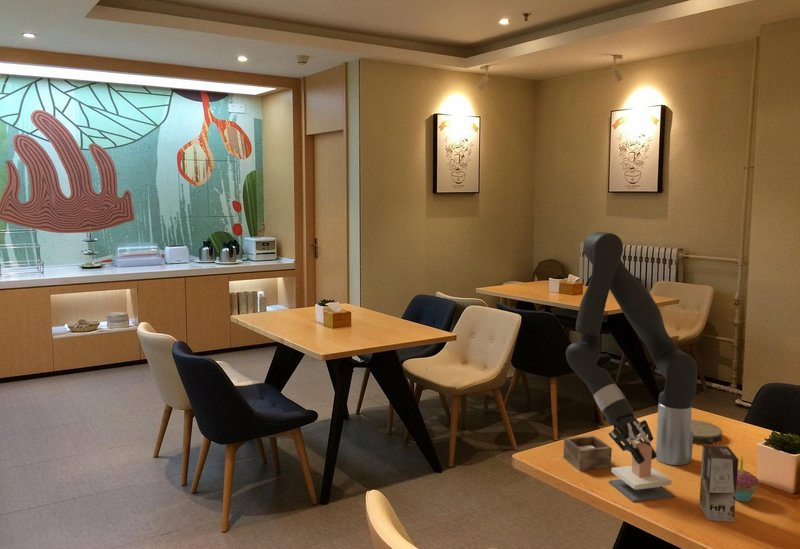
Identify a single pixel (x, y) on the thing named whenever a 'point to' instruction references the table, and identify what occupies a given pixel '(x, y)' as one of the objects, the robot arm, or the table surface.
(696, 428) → the tin can
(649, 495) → the mat
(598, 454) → the box
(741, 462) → the cupcake
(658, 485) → the lid
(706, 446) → the coffee box
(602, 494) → the table surface
